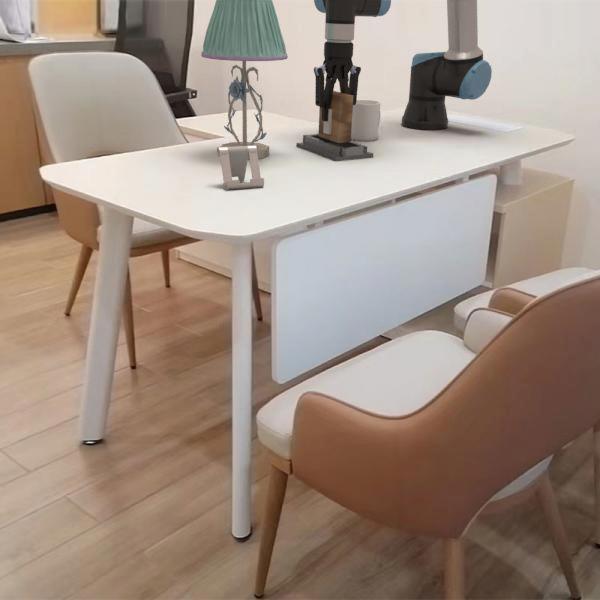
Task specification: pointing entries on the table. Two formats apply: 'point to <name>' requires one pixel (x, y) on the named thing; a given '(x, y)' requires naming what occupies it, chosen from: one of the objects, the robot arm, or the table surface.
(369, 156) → the base
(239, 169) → the portable electronic device stand
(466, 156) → the table surface
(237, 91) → the table lamp
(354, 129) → the mug
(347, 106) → the brown wooden block
